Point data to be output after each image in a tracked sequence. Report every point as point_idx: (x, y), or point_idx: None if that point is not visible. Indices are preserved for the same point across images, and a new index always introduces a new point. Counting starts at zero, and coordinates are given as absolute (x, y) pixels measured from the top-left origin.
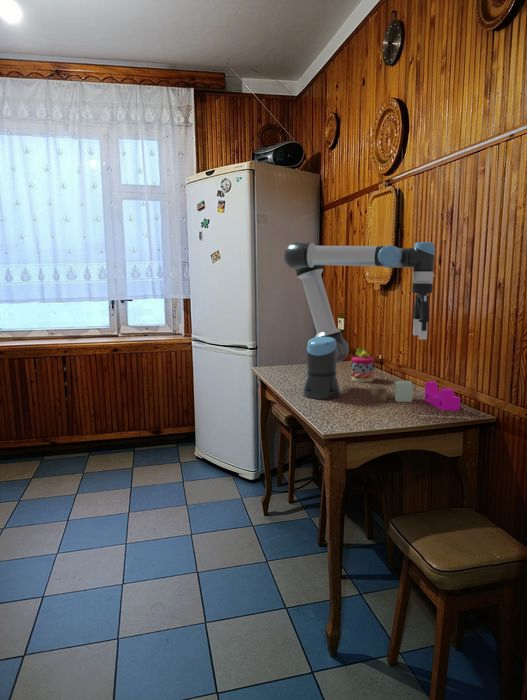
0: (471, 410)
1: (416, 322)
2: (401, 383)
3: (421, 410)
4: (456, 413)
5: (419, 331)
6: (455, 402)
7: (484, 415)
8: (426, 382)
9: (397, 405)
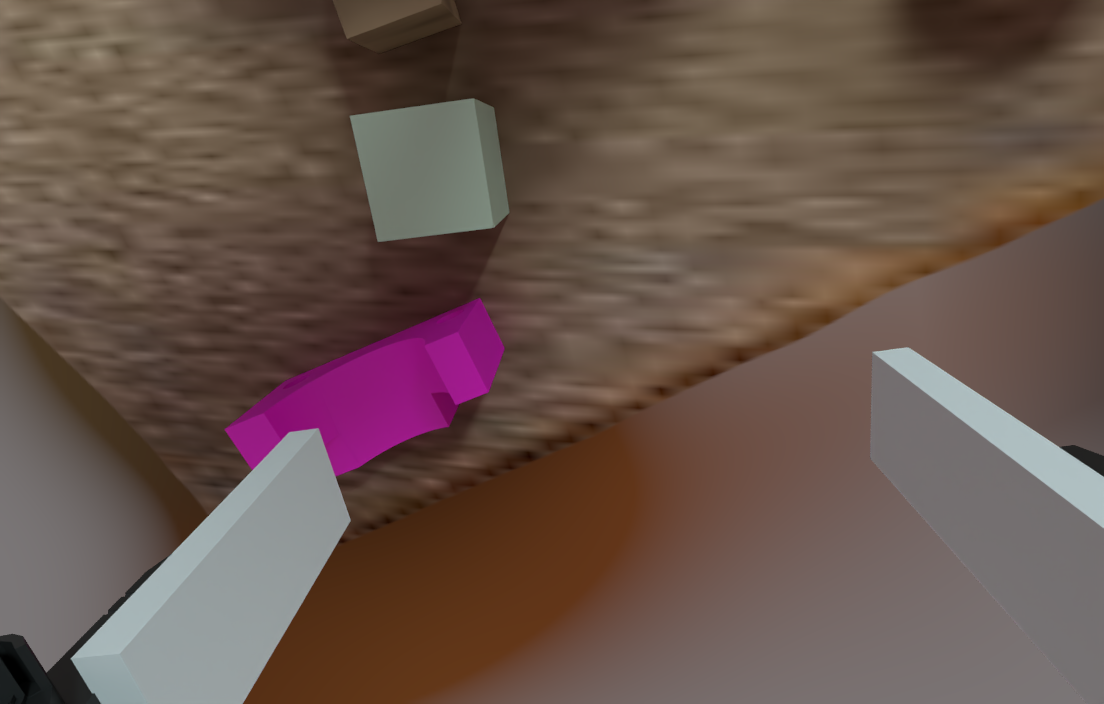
0: None
1: (1042, 548)
2: (378, 156)
3: (240, 275)
4: None
5: (255, 499)
6: None
7: None
8: (441, 338)
9: (296, 136)
